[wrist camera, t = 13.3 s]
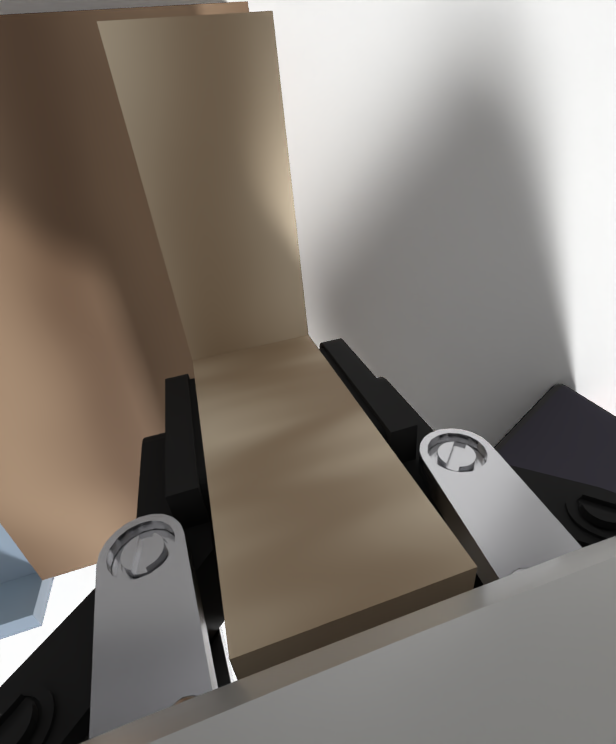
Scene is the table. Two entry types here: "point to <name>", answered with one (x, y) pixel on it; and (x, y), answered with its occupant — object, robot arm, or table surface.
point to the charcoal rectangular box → (565, 440)
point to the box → (19, 590)
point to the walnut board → (76, 291)
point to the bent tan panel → (267, 356)
